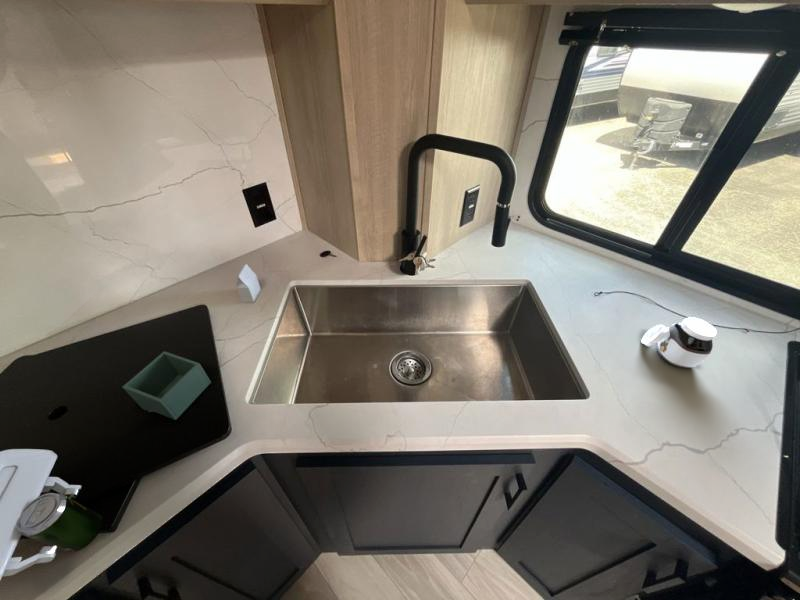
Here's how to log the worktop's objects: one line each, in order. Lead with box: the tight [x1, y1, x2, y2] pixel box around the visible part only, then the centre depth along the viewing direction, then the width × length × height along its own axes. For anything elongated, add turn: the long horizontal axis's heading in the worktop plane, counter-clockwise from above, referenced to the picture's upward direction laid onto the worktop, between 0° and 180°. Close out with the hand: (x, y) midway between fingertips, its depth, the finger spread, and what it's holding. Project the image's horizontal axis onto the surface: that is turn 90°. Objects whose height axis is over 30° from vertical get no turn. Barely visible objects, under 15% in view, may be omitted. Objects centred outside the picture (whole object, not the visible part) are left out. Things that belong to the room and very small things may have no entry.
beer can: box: [15, 492, 104, 553], centre depth 50 cm, size 5×5×12 cm
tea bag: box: [235, 263, 262, 304], centre depth 99 cm, size 4×7×10 cm, turn 1°
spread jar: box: [641, 316, 718, 369], centre depth 84 cm, size 12×11×12 cm
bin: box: [121, 350, 212, 421], centre depth 72 cm, size 10×10×9 cm
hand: (67, 521), depth 50 cm, fingers open, 7 cm apart
